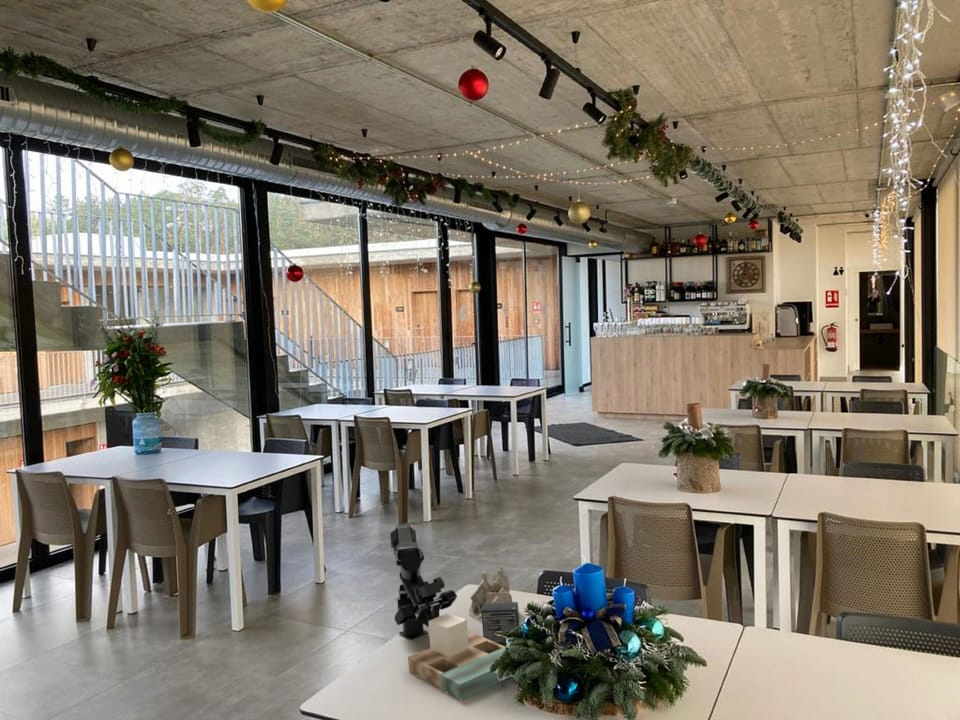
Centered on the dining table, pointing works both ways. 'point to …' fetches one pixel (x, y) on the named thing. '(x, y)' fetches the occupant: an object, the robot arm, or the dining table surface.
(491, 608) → the small box
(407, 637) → the robot arm
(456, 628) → the cream block
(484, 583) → the ceramic cottage
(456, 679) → the trap board
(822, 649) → the dining table surface
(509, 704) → the dining table surface
